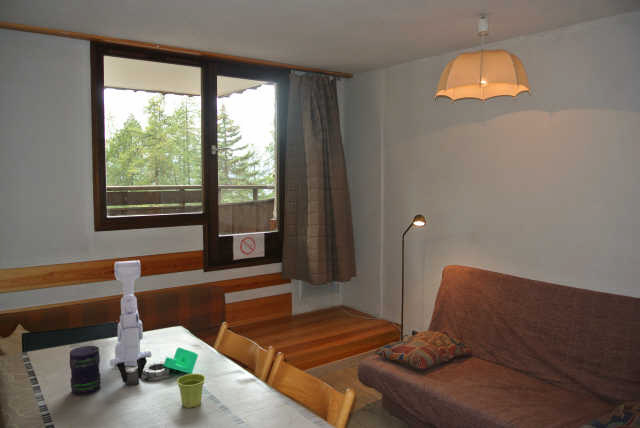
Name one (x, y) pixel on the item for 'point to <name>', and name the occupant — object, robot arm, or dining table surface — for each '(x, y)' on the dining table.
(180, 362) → the camera mount
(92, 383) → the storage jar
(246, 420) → the dining table surface
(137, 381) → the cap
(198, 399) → the plant pot
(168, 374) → the grey knurled ring
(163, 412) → the dining table surface
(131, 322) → the robot arm
